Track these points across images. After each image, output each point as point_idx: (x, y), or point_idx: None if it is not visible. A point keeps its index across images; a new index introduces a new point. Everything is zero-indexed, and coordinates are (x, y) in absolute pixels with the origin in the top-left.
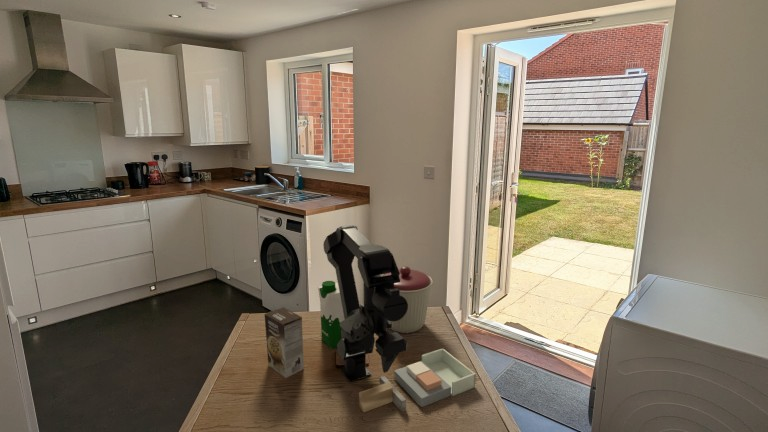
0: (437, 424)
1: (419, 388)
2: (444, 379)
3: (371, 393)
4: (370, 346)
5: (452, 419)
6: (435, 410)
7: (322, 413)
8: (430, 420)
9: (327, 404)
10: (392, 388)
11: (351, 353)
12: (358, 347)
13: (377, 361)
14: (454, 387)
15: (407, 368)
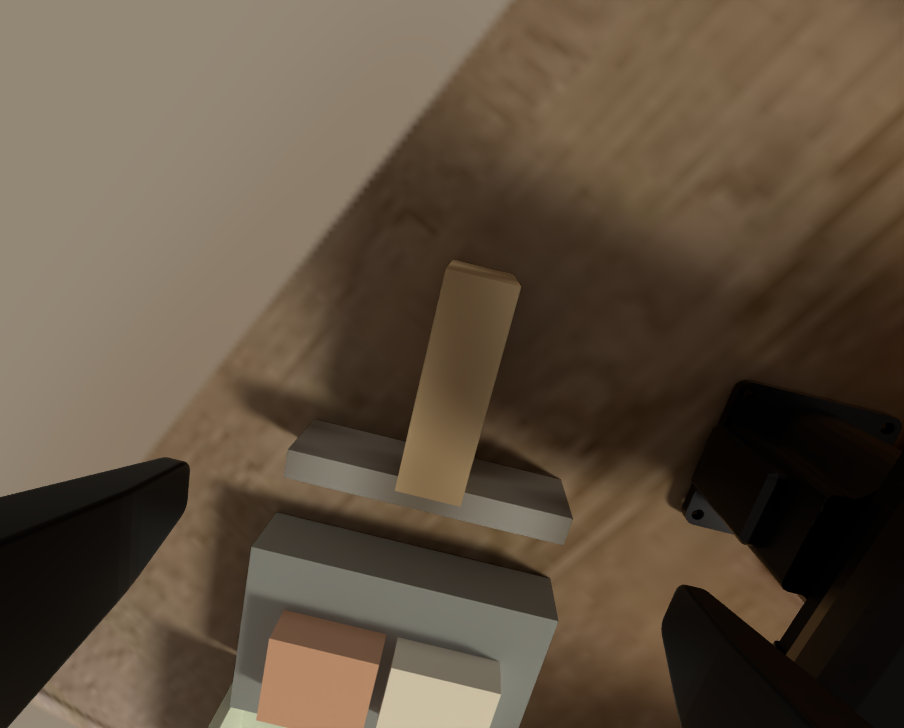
0: None
1: (325, 598)
2: None
3: (446, 346)
4: (686, 717)
5: None
6: (218, 541)
7: (643, 31)
8: None
9: (687, 120)
10: (396, 486)
11: (898, 501)
12: (889, 612)
13: None
14: (218, 712)
15: (488, 680)
